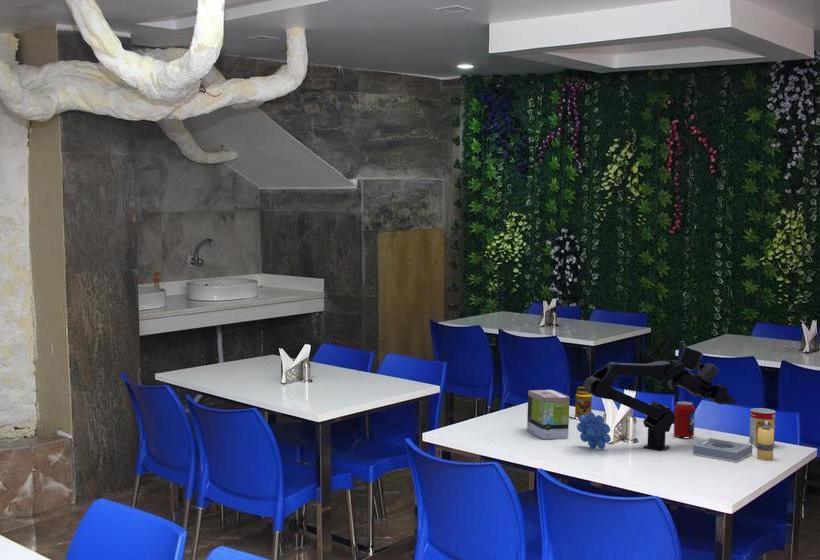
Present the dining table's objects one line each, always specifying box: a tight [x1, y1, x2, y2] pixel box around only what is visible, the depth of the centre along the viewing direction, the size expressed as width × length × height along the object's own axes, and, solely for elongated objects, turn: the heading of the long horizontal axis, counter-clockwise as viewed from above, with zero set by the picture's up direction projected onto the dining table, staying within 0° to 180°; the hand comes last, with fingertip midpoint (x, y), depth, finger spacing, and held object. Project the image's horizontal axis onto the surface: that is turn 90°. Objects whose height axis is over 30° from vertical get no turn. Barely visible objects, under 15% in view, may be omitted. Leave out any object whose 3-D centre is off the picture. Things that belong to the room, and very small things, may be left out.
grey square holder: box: [692, 438, 753, 463], centre depth 306 cm, size 14×14×3 cm
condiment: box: [574, 385, 593, 418], centre depth 359 cm, size 7×8×12 cm
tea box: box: [526, 389, 571, 440], centre depth 331 cm, size 15×10×15 cm
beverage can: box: [673, 400, 696, 438], centre depth 330 cm, size 7×7×12 cm
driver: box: [756, 421, 775, 461], centre depth 302 cm, size 5×5×12 cm
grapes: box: [576, 411, 612, 450], centre depth 311 cm, size 12×7×12 cm, turn 60°
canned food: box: [748, 407, 776, 446], centre depth 319 cm, size 8×8×12 cm
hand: (727, 399), depth 318 cm, fingers open, 9 cm apart
